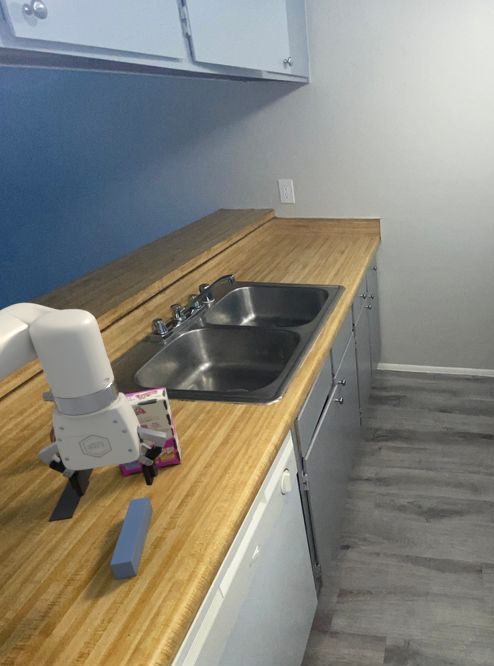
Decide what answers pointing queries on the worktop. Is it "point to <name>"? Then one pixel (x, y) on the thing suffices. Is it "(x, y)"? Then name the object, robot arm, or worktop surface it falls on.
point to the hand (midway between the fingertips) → (118, 484)
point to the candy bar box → (154, 427)
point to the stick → (131, 539)
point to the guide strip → (67, 501)
